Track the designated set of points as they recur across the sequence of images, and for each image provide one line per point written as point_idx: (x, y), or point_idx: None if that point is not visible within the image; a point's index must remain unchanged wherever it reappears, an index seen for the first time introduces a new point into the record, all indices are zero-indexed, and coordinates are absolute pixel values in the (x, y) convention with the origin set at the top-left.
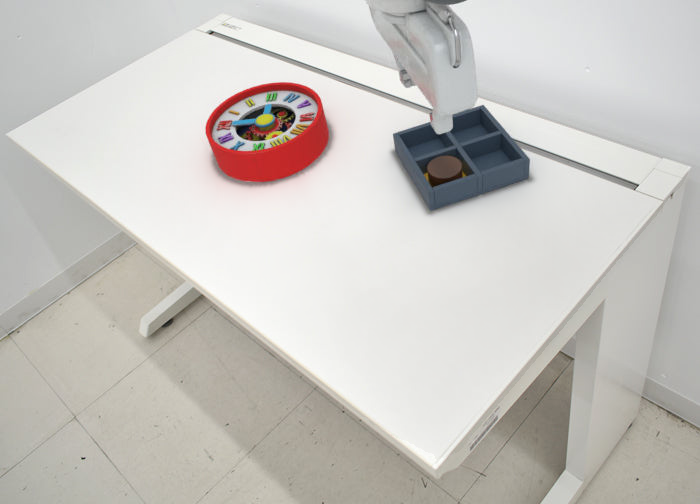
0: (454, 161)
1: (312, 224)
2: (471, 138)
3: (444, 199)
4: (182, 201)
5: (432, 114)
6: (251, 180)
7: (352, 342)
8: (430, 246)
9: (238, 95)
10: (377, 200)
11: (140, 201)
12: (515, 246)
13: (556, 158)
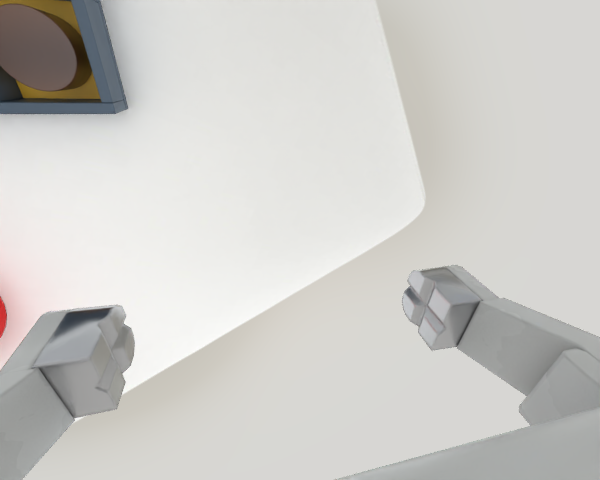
0: (14, 18)
1: (120, 265)
2: None
3: (115, 80)
4: None
5: (477, 361)
6: (3, 329)
7: (306, 248)
8: (207, 137)
9: None
10: (82, 179)
11: None
12: (249, 11)
13: None
